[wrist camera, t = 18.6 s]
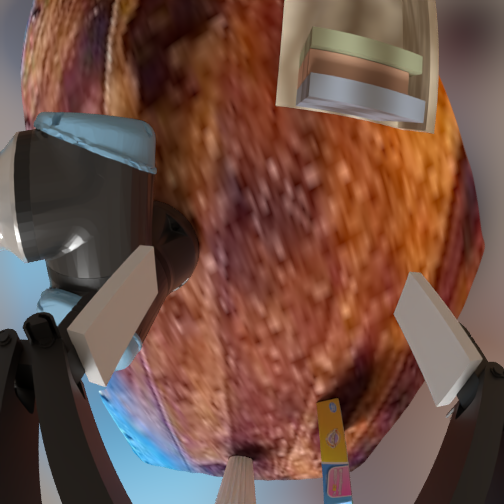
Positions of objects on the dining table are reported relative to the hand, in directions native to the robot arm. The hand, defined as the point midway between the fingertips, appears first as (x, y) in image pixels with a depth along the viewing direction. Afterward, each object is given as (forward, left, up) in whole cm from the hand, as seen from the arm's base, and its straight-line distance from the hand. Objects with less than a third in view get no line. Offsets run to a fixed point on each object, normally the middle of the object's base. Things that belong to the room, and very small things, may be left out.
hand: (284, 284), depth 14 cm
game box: (+22, -57, -27) cm, 67 cm away
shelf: (+8, +25, -27) cm, 37 cm away
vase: (0, -90, -27) cm, 94 cm away
